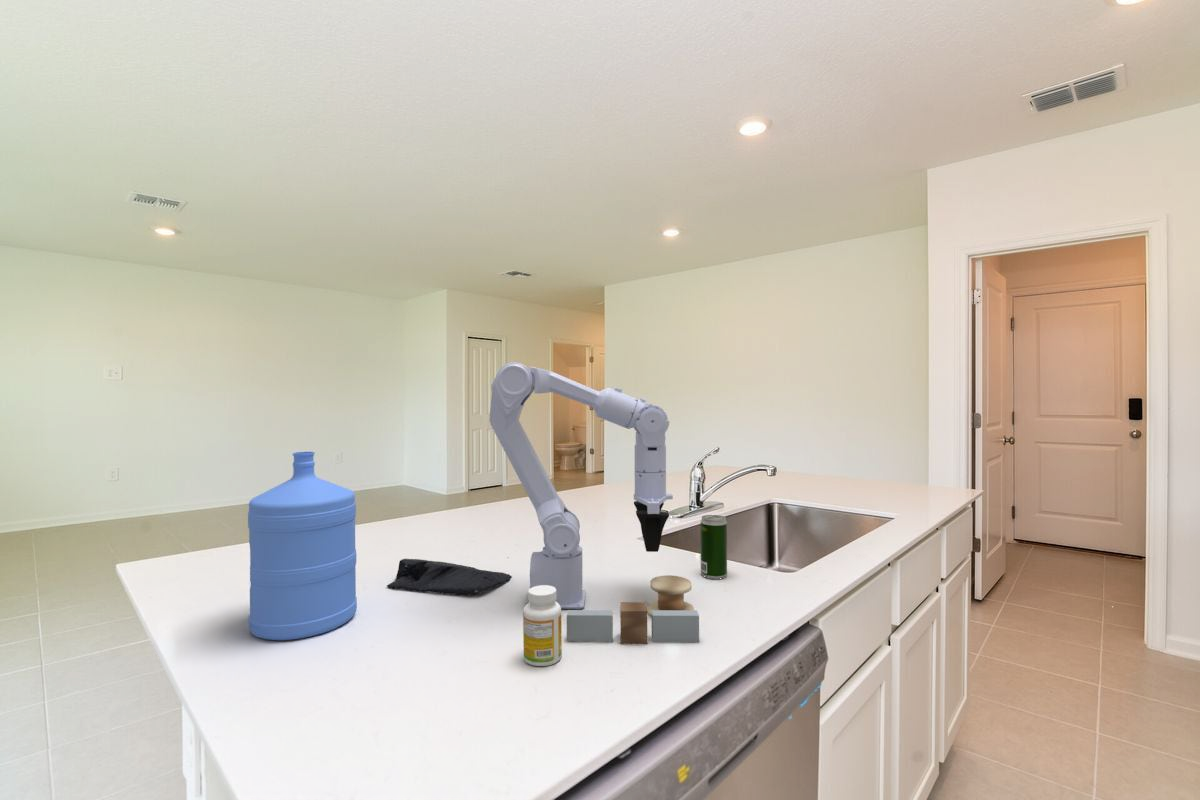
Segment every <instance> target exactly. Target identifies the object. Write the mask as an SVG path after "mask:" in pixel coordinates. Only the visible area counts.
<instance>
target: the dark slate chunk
mask: <svg viewBox="0 0 1200 800" xmlns="http://www.w3.org/2000/svg"><path fill="white" fill-rule="evenodd" d="M511 578H513V576H512V575H510V573H509V574H508V573H505V572H498V571H492V570H484V569H477V568H476V567H471V566H468V565H463V564H456V563H452V562H445V561H433V560H427V559H419V558H418V559H417V558H402V559H400V560H399V563H398V570H397V573H396V576H395V580H394V581H392V582H390V583H388V584H387V585H386V586H387V587H388V589H392V590H394V589H399V590H404V591H409V592H419V593H420V592H422V593H430V592H431V593H436V594H443V595H447V594H448V595H449V594H450V595H456V596H475V595H479V594H481V593H483V592H486V591H487V590H490V589H492V588H496V587H497V586H500V585H503V584H506V583H507V582H509V581H511Z"/></svg>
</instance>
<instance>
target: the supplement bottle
mask: <svg viewBox="0 0 1200 800" xmlns="http://www.w3.org/2000/svg"><path fill="white" fill-rule="evenodd" d="M527 595H528V596H527V597H528V598H527V599H528V603H527V604H526V605H525V606H524V608H523V611H522V612H523V614H522V615H523V616H522V617H523V618H522V621H523V623H522V625H523V626H522V627H523V628H522V630H523V632H522V633H523V660H524V661H525V662H526V663H527V664H529V665H530V666H533V667H534V666H535V667H547V666H548V667H549V666H552V665H554V664H556V663H558V662H559V661H560V660H561V658H562V654H563V653H562V651H563V650H562V647H563V645H562V641H563V640H562V638H563V637H562V631H563V630H562V609H561V606H560V605H559V604H558V603H557V602H555V601H556V598H557V594H556V588H555V587H553V586H549V585H540V586H535V587H532V588H530V587H529V589H528V593H527Z"/></svg>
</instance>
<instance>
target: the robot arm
mask: <svg viewBox="0 0 1200 800" xmlns="http://www.w3.org/2000/svg"><path fill="white" fill-rule="evenodd" d="M528 366H529V365H528ZM528 366H526V365H525V364H523V363H519V362H517V361H516V362H515V361H514V362H512V361H511V362H508V363H506V364H504V365H503V366H501V367H500V368H499V370H498V371H497V373H496V375H495V377H494V379H493V381H492V384H490V385H491V397H490V398H491V399H490V409H489V410H490V411H489V424H490V426H491V428H492V430H493V431H494V434H495V435H496V437H497V440H498V441H499V443H500V445H501V447H502V448H503V449H502V450H503V451H504V453H505V455H506V456H507V458H508V460H509V462H510V464H511V466H512V468H513V469H514V471H515V474H516V475H517V478H518V479H519V481H520V483H521V485H522V487H523V489H524V490H525V493H526V494H527V497H528V498H529V500H530V502H531V504H532V506H533V507H534V510H535V512H536V516H537V520H538V522H539V526H541V527H540V528H541V529H542V532H543V544H544V546H543V547H542V550H541V551H533V552H532V553H531V556H530V566H529V589H530V588H532V587H535V586H540V585H549V586H553V587H555V588H556V594H557V598H556V601H555V602H557V603H558V604H559V605H560V606H561V610H562V609H564V610H565V609H566V610H583V609H584V607H585V602H586V601H585V600H586V594H587V593H586V590H584V589H583V548H582V547H581V545H580V541H581V535H580V526H581V525H580V520H579V518H578V517H577V515H576V514H575V513H574V512H572V511H571V510H569V509H568V507H566V504H565V503H564V501H563V499H562V498H561V497H560V496H559V494H558V493H557V490H556V489H555V486H554V485H553V483H552V481H551V479H550V477H549V475H548V473H547V472H546V470H545V468H544V466H543V463H542V462H541V460H540V459H539V456H538V455H537V453H536V450H535V449H534V447H533V445H532V443H531V441H530V439H529V437H528V435H527V433H526V431H525V430H524V428H523V426H522V423H521V422H520V416H521V415H522V411H523V409H524V406H525V403H526V402H527V400H528V399H530V396H532V394H533V393H534V394H537V395H538V394H547V393H548V394H549V393H554V394H556V395H559V396H562V397H563V398H564V397H565V398H567V399H570V400H573V401H576V402H578V403H581V404H584V405H586V406H588V407H592V408H593V411H594V414H595V416H596V417H597V418H600V419H602V420H604V421H607V422H609V423H612V424H615V425H617V426H619V427H622V428H625V429H628V430H630V429H634V431H635V444H634V494H633V500H634V501H633V504H634V507H635V509H636V510H635V515H636V517H637V518H638V521H639V523H640V529H641V535H642V539H643V543H644V548H645V551H646V552H647V553H648V552H649V553H651V552H653V553H655V552H656V553H657V552H659V549H660V546H661V540H662V535H663V532H664V531H663V530H664V527H665V524H666V522H667V521H668V519H669V516H670V514H669V512H666V511H665V512H664V511H663V512H662V508H663V507H664V503H665V502H666V501H667V500H673V494H672V493H667V445H666V432H667V431H668V429H669V426H670V421H669V418H668V415H667V412H665V411H664V409H663V408H661V407H660V406H658V405H654V404H652V403H646V402H647V399H645V398H643V397H640V399H638V398H636V397H633V396H632V395H628V394H626V393H623V392H622V388H619V387H617V386H615V387H614V388H610V387H606V388H604V389H602V390H600V391H599V390H596V389H593V388H591V387H589V386H587V385H584V384H582V383H579V382H577V381H575V380H572V379H570V378H568V377H566V376H563V375H561V374H559V373H557V372H554V371H551V370H548V369H543V368H538V367H534V366H529V367H528Z"/></svg>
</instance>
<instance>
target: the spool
mask: <svg viewBox="0 0 1200 800" xmlns="http://www.w3.org/2000/svg"><path fill="white" fill-rule="evenodd" d="M649 583H650V584H649V585H650V586H649V587H650V589H651V590H652V591H654V592H656V593H657V599H655V600H653V601H651V602H649V604H648V605H646V606H647V616H649V617H650V618H652V610H696V609H695V607H694V605H692V604H691V603H690V602H687V601H685V599H684V598H685V595H684V594H687V593H688V592H690V591H691V590H692V586H693V585H692V581H691V580H690V579H688V578H687V577H683V576H679V575H667V574H666V575H658V576H655V577H652V578H651V580H650V581H649Z"/></svg>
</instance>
